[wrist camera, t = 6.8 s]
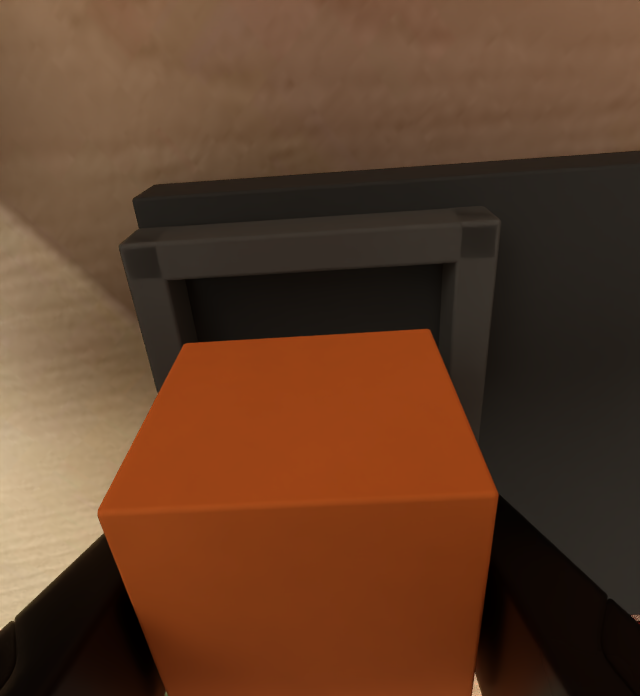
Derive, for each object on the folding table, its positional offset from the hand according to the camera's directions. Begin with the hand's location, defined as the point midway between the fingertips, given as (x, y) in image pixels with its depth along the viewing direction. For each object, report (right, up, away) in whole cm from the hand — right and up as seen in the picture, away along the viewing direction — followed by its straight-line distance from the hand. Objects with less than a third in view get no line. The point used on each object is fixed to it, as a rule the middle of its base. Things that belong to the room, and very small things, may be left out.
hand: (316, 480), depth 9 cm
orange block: (0, 0, +1) cm, 1 cm away
